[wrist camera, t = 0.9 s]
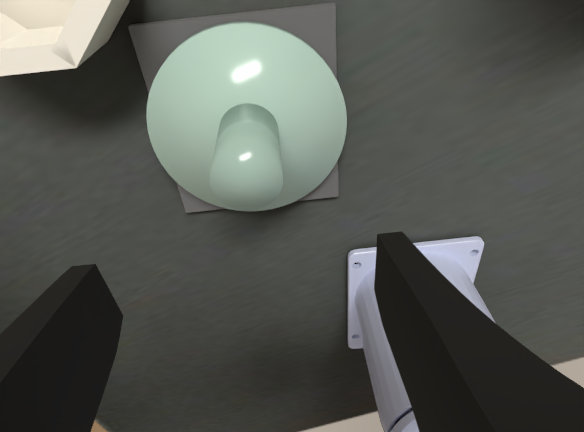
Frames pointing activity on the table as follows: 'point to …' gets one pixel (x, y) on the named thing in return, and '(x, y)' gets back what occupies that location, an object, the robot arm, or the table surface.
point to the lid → (246, 116)
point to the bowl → (54, 32)
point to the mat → (298, 20)
